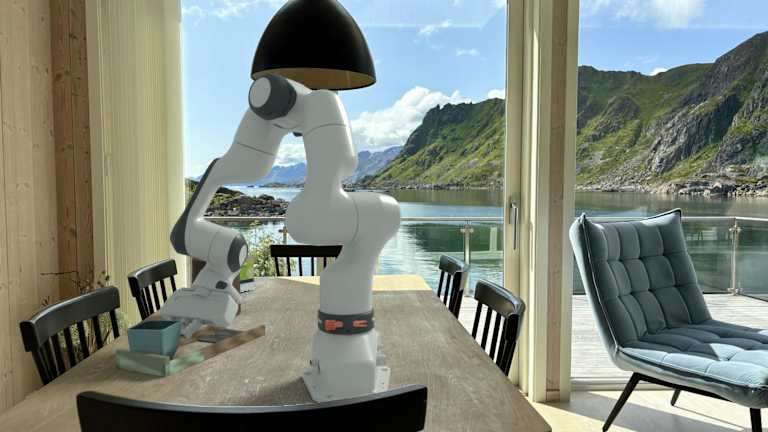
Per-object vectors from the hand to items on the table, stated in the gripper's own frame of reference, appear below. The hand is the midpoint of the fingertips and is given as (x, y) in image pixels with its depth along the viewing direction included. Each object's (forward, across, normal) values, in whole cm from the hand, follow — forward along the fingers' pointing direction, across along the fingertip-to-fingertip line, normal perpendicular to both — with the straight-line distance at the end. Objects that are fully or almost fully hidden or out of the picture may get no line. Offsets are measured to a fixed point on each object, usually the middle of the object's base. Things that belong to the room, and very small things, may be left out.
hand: (182, 337), depth 126 cm
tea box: (-45, -40, +52) cm, 79 cm away
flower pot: (+8, -2, -1) cm, 8 cm away
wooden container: (-23, -21, +30) cm, 44 cm away
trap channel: (-1, 0, +7) cm, 7 cm away
